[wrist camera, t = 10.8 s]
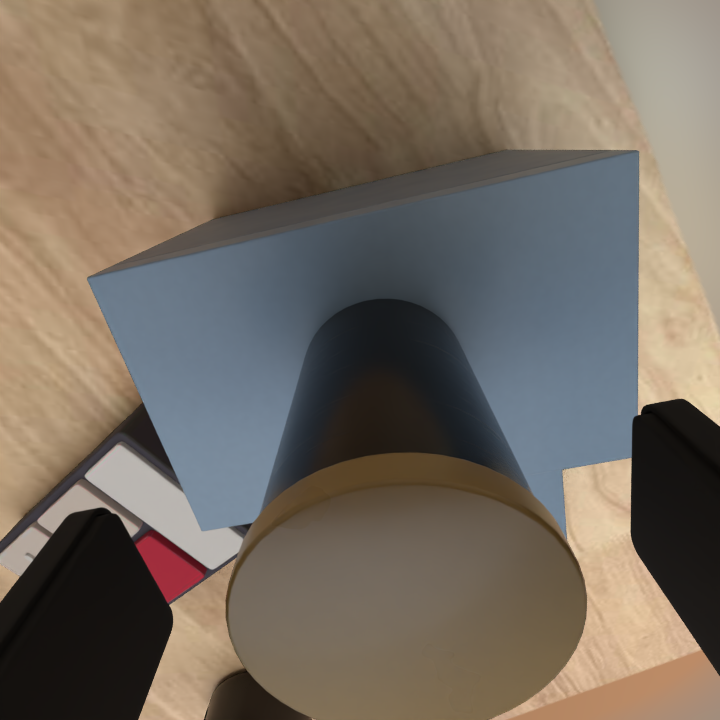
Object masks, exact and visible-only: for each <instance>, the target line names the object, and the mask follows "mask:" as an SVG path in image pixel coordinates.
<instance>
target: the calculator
mask: <svg viewBox="0 0 720 720" xmlns="http://www.w3.org/2000/svg"><path fill="white" fill-rule="evenodd" d="M100 507H103V508H107V509H108V510H110V512H111V513H114V514H117V515H118V516H119V517H120V518H121V520H122V522H123V524H124V526H125V527H126V529H127V531H128V533H129V534H130V536H131V538H132V540H133V542H134V543H135V545H136V547H137V549H138V551H139V552H140V554H141V556H142V558H143V560H144V561H145V563H146V565H147V567H148V569H149V570H150V572H151V574H152V576H153V577H154V579H155V581H156V583H157V585H158V586H159V588H160V590H161V592H162V594H163V595H164V597H165V599H166V601H167V603H168V604H169V605H170V604H171V603H173V602H174V601H176V600H177V599H178V598H180V597H181V596H183V595H184V594H185V593H187V592H188V591H190V590H191V589H193V588H194V587H195V586H197V585H198V584H200V583H201V582H203V581H204V580H205V579H207V578H208V577H210V576H211V575H212V574H214V573H215V572H217V571H218V570H220V569H221V568H222V567H224V566H225V565H227V564H228V563H230V562H231V561H232V560H234V559H235V558H237V555H238V552H239V550H240V547H241V545H242V542H243V539H244V537H245V536H246V534H247V532H248V530H249V529H250V527H251V525H252V524H253V523H249V524H243V525H238V526H232V527H226V528H220V529H214V530H209V531H201V529H200V526H199V524H198V522H197V520H196V518H195V515H194V513H193V511H192V509H191V507H190V504H189V502H188V500H187V498H186V496H185V493H184V491H183V489H182V487H181V485H180V482H179V480H178V478H177V476H176V474H175V471H174V469H173V467H172V465H171V463H170V460H169V458H168V456H167V454H166V452H165V449H164V447H163V445H162V443H161V441H160V438H159V436H158V434H157V432H156V430H155V427H154V425H153V423H152V421H151V419H150V416H149V414H148V412H147V410H146V408H145V405H144V403H143V404H141V405H140V406H139V407H138V408H137V409H136V410H135V411H134V412H133V413H132V414H131V415H130V416H129V417H128V418H127V419H126V420H124V421H123V422H122V423H121V424H120V425H119V426H118V427H117V428H116V429H115V430H114V431H113V432H112V433H111V434H110V435H109V436H108V437H107V438H106V439H105V440H104V441H103V442H102V443H101V444H100V445H99V446H98V447H97V448H96V449H95V450H94V451H93V452H92V453H90V454H89V455H88V456H87V457H86V458H85V459H84V460H83V461H82V462H81V463H80V464H79V465H78V466H77V467H76V468H75V469H74V470H73V471H72V472H70V473H69V474H68V475H67V476H66V477H65V478H64V479H63V480H62V481H61V482H60V483H59V484H58V485H57V486H56V487H55V488H54V489H53V490H51V491H50V492H49V493H48V494H47V495H46V496H45V497H44V498H43V499H42V500H41V501H40V502H39V503H38V504H37V505H36V506H35V507H34V508H33V509H31V510H30V511H29V512H28V513H27V514H26V515H25V516H24V517H23V518H22V519H21V520H20V521H19V522H18V523H17V524H16V525H15V526H14V527H13V528H12V530H11V531H10V532H9V533H8V534H7V535H6V536H5V537H4V538H3V539H2V540H1V541H0V564H1V565H2V566H4V567H5V568H7V569H9V570H10V571H12V572H13V573H15V574H17V575H18V576H21V575H22V574H23V572H24V571H25V570H26V569H27V567H28V566H29V565H30V563H31V562H32V561H33V559H34V558H35V557H36V556H37V554H38V553H39V552H40V550H41V549H42V548H43V546H44V545H45V544H46V543H47V541H48V540H49V539H50V537H51V536H52V535H53V533H54V532H55V531H56V529H57V528H58V527H59V526H60V524H61V523H62V522H63V520H64V519H65V518H66V517H67V516H68V515H69V514H71V513H74V512H79V511H84V510H89V509H95V508H100Z"/></svg>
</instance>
